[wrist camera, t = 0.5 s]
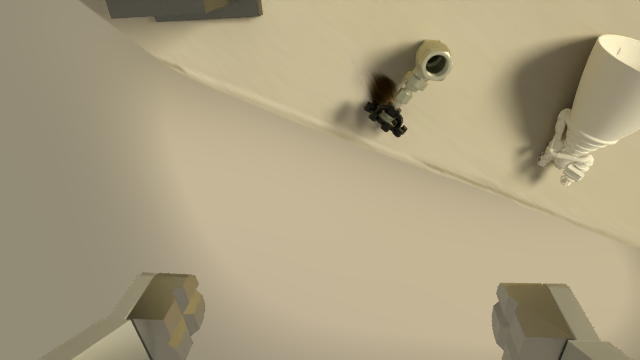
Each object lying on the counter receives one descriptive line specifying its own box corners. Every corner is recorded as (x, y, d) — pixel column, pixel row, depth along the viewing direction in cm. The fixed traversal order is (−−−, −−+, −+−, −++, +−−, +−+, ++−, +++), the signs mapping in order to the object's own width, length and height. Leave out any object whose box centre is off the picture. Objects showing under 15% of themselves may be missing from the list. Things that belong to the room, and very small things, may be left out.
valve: (420, 23, 48) (363, 99, 54) (426, 33, 42) (362, 117, 48) (460, 54, 49) (401, 125, 55) (472, 67, 44) (404, 144, 49)
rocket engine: (573, 218, 49) (698, 100, 36) (497, 163, 54) (582, 42, 41) (604, 185, 55) (719, 75, 42) (533, 139, 60) (617, 28, 48)
